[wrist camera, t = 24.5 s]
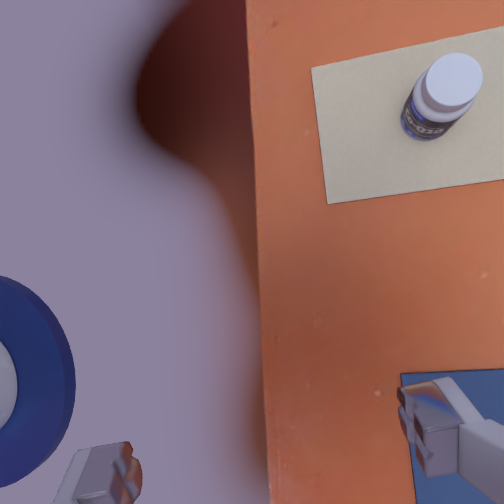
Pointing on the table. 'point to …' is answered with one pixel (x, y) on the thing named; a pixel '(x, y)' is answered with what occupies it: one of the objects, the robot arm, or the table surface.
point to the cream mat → (390, 129)
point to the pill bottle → (441, 96)
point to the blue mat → (489, 406)
